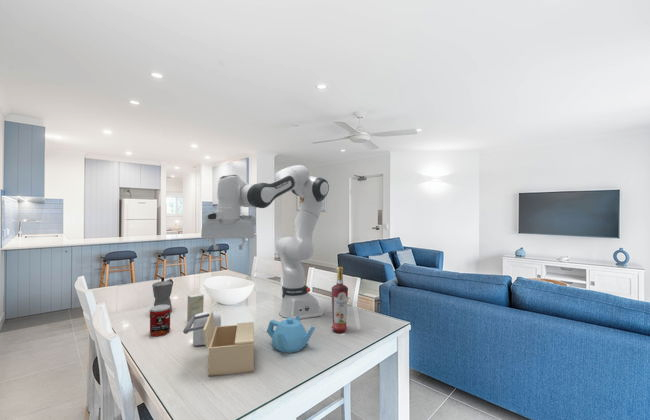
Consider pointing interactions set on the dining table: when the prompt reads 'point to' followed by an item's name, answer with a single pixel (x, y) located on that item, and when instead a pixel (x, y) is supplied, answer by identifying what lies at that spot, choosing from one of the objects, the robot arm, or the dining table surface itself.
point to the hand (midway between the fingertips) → (228, 249)
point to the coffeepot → (163, 292)
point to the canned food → (159, 320)
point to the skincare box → (194, 305)
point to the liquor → (339, 303)
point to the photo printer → (199, 334)
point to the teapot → (289, 335)
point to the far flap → (207, 327)
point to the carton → (232, 349)
